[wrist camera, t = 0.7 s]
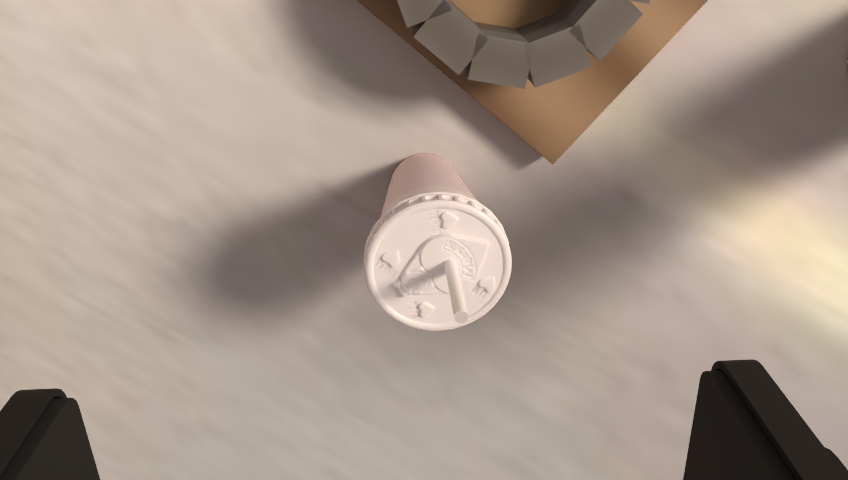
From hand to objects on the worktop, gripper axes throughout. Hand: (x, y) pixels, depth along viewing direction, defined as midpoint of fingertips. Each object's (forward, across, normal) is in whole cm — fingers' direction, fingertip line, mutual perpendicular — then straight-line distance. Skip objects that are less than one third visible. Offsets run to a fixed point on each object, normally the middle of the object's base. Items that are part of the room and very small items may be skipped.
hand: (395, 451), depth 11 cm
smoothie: (+29, -1, +7) cm, 30 cm away
